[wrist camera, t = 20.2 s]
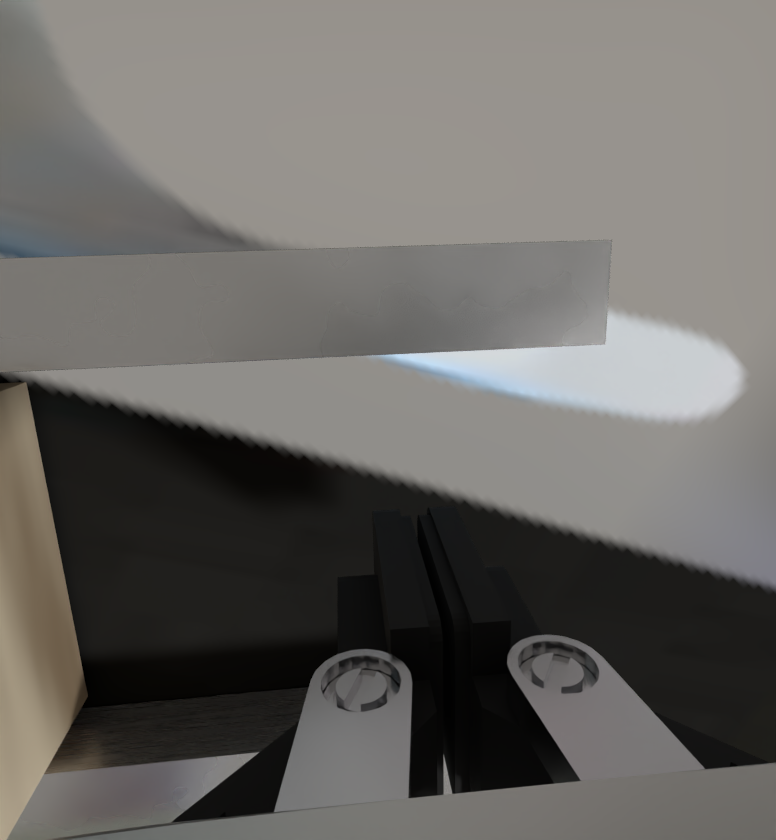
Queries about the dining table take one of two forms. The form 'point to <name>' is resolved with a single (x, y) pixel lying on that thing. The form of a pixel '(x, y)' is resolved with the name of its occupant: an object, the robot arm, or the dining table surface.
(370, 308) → the guide
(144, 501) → the dining table surface
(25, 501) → the wooden block
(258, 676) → the dining table surface
